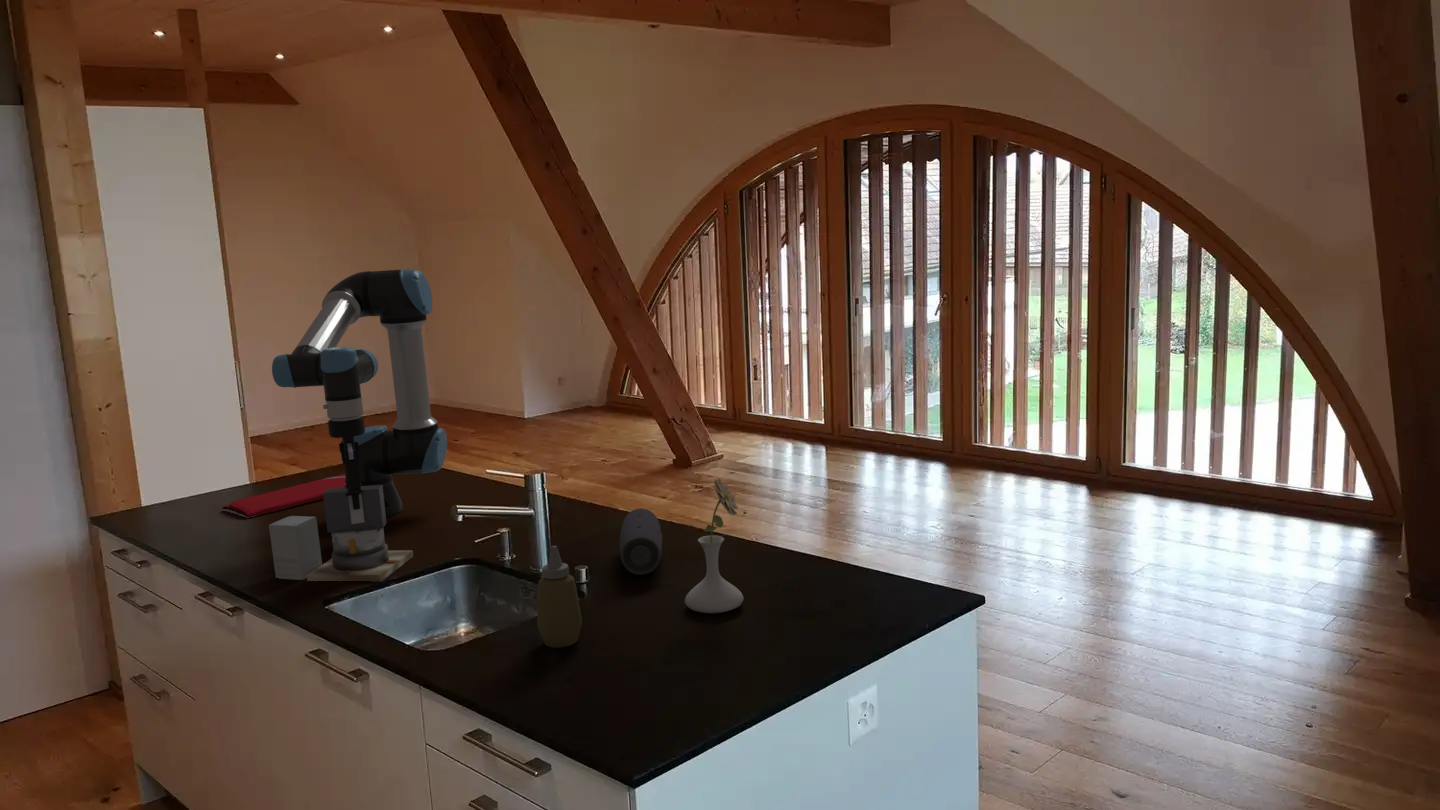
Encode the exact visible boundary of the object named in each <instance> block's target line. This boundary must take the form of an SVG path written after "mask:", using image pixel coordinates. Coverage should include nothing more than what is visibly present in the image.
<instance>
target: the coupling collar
mask: <svg viewBox="0 0 1440 810" xmlns="http://www.w3.org/2000/svg"><path fill="white" fill-rule="evenodd" d="M361 490H362V491H361V495H362V504H363V513H364V522H363V523H356V524H352V523H351V514H350V506H349V497H348V496H346V495H345V493H348V491H349V490H348V487H344V488H330V489H327V490H326V491H325V492H324V493H323V498H324V499H323V506H324V513H325V521H326V531H327V533H331V540H332V549H333V551H334V554H335V555H337V556H341V557H357V556H364V555H369V554H372V553H376V552H378V551H380V550H382V549H384V548H385V544H386V541H385V540H386V539H385V532H384V527H385V526H386V524H387V517H386V514H385V504H384V495H383V486H382V485H371V486H361Z"/></svg>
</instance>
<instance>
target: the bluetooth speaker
mask: <svg viewBox="0 0 1440 810" xmlns="http://www.w3.org/2000/svg"><path fill="white" fill-rule="evenodd" d="M619 535H620V536H619V555H620V560H621V563H622V565H623V566H624V568H625V569H626V570H627V571H628V572H630V573H631V574H633V575H646V574H650V573H651V572H654V571H655V569H656V568H657V567H658V566H659V564H660V561H661V558H662V549H663V548H662V547H663V535H662V530H661V525H660V522H659V520H658V518H657V516H656V514H654V513H653V512H652V511H651V510H649V509H646V508H636V509H632V510H631V511H629V513H627V515H625V517H624V519H623V521H622V525H621V529H620V534H619Z"/></svg>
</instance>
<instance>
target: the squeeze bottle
mask: <svg viewBox="0 0 1440 810" xmlns="http://www.w3.org/2000/svg"><path fill="white" fill-rule="evenodd" d="M541 570H542V577H541V578H540V579H539V580H538V581H537V611H536V612H537V613H536V614H537V616H536V617H537V618H536V626H537V629H538V631H539V633H540V636H541V637H542V641H543V642H544V645H545V646H546V647H549V648H554V649H560V648H567V647H570V646H573V645H574V644H576V643H577V642H578V639H579V635H580V632H581V629H582V624H583V618H582V612H581V607H580V602H579V595H578V591H577V590H578V589H577V585H576V581H575V580H576V579H575V577H574V576H573V575H572V574H570V568H569V564H567V563H565V562H563V561H562V559H561V555H560V552H559V549H558V546H557V545H551V546H550V548H549V555H548V562H547V564H544V565H543V567H541Z"/></svg>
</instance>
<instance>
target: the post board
mask: <svg viewBox="0 0 1440 810" xmlns="http://www.w3.org/2000/svg"><path fill="white" fill-rule="evenodd" d="M412 558H414V551H413V550H409V549H407V550H396V549H395V550H389V548H388V544H387V543H385V548H384V549H382V550H380V551H378V552H376V553H372V554H369V555H364V556H357V557H341V556H337V555H335V554H334V550H332V552H331V558H330V559H329V560H328V561H326V562H325V563H322V565H321V566H320V567H318V568H317V569H315V570H314V571H312V572H311V573H309V574H308V575H307V578H306V580H307V582H308V581H315V582H316V581H340V583H341V581H371V583H372V582H373V583H374V582H375V583H376V582H378V583H379V582H383V581H384V580H385V579H386V578H387V577H389V576H390V575H391V574H393V573H394V572H395V571H397V569H399V568H401V567H402V566H403V565H405V562H406V563H407V562H408V561H410V560H411V559H412ZM315 582H314V583H315Z"/></svg>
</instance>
